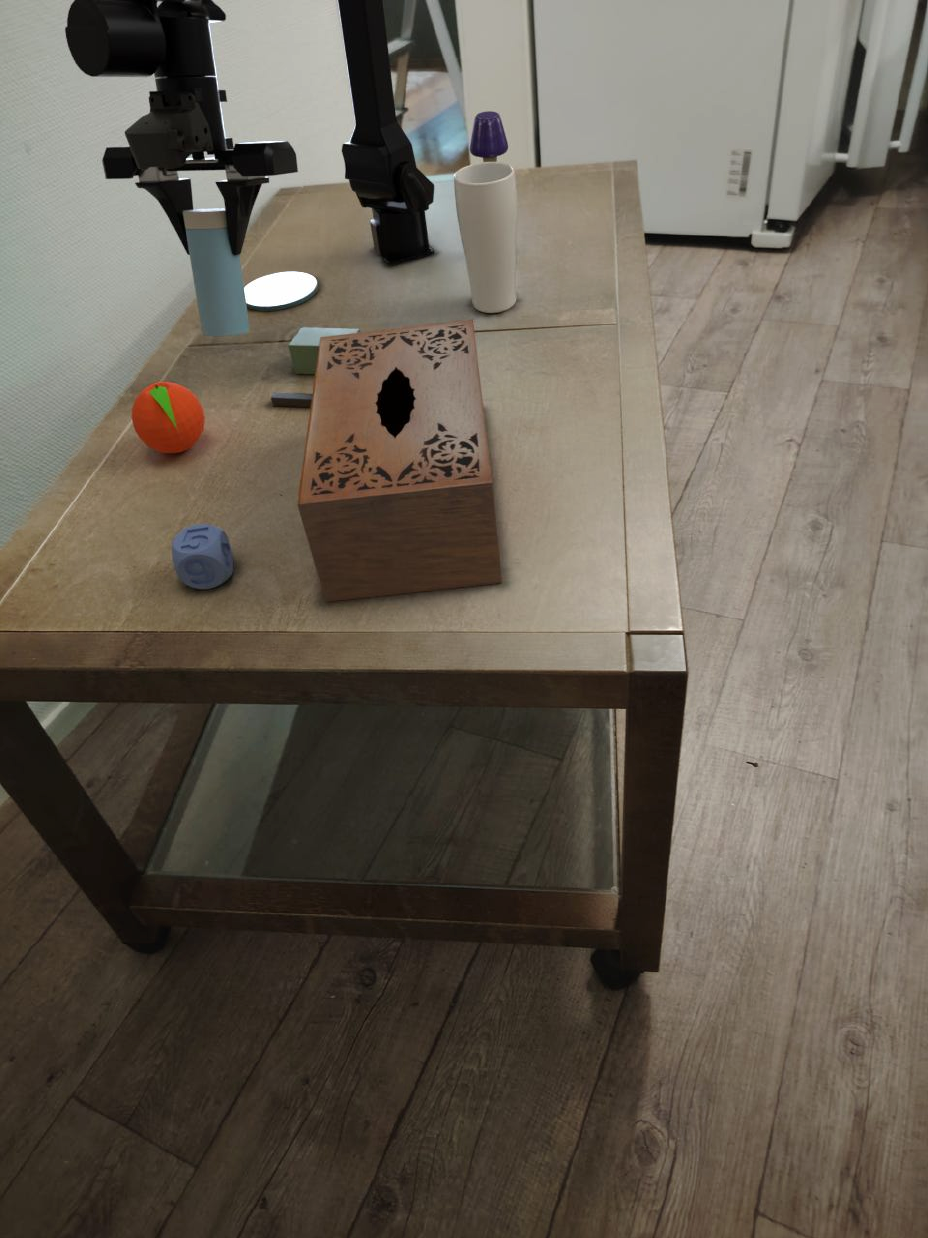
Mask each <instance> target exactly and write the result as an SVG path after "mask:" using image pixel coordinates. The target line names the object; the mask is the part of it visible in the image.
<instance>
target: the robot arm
mask: <svg viewBox="0 0 928 1238" xmlns="http://www.w3.org/2000/svg"><path fill="white" fill-rule="evenodd" d="M158 2H160V3H159V4H158ZM337 6H338V11H339V20H340V27H341V31H342V32H341V33H342V39H343V47H344V53H345V55H344V56H345V61H346V67H347V75H348V80H349V88H350V95H351V96H350V97H351V101H352V103H351V104H352V109H353V116H354V128H353V130H352V133H351V135H350V139H349V141H348V142H344V143H343V144H342V145H341V154H342V157H343V162H344V170H345V171H344V172H345V173H344V179H345V180H348V183H349V186H350V189H351V191H352V192H354V193H355V195H356V197H357V200H358V202H359V204H360V206H361V208H366V209H367V208H370V209H371V212H372V218H373V219H370V221H369V224H370V231H371V236H372V241H373V242H372V243H373V248H374V251H375V253H376V254H377V255H378V256H379V257H380V258H381V259H383V260H384V261H385V262H386V263H387V265H388V266H395V265H398V264H402V263H406V262H410V261H412V260H416V259H419V258H425V257H427V256H431V255H434V254H435V249H434V248H433V247H432V246H431V245H430V241H429V233H428V228H427V227H428V226H427V225H428V224H427V218H426V217H427V216H426V212H427V211H428V210H429V209H430V205H432V204H433V203H434V200H435V184H434V183H433V182H432V181H431V180H430V179H429V178H428V177H427V176H426V174H424V173H423V172H422V171H421V170H420V169H419V168H418V166H417V163H416V158H415V152H414V149H413V144H412V142H411V140H410V139H409V137H408V135H407V134H406V133H405V131H404V129H403V128H402V126H401V125H400V122H398V119H397V114H396V105H395V96H394V87H393V79H392V71H391V69H392V68H391V63H390V54H389V53H390V51H389V45H388V36H387V27H386V26H387V25H386V19H385V18H386V17H385V9H384V0H337ZM66 18H67V19H66V26H65V27H64V32H65V39H66V43H67V47H68V50H69V52H70V55H71V57H72V59H73V62H74V63H75V64H76V66H77V67H78V68H79V70H80V71H81V72H83V73H84V75H87V76H89V77H92V78H93V77H94V78H95V77H96V78H149V77H152V76H154V82H155V87H156V88H155V89H156V90H152V91H148V93H149V96H148V103H149V113H147V114H145V115H143V116H141V117H139V118H138V119H137V120H136V121H135V122H134V123H132V124H131V125H130V126H129V127H128V128H127V129H125V131H124V135H125V138H126V142H127V144H128V145H123V146H110V147H108V146H107V147H106V148H105V150H104V153H103V156H102V160H101V163H102V167H103V172H104V176H105V177H104V178H105V179H106V180H126V179H127V180H128V179H133V178H134V177H137V178H138V182H135V183H134V184H135V186H136V187H137V189H144V190H145V191H146V192H148V193H149V194H150V195H151V196H152V197H153V198H155V199H156V201H157V202H158V203H159V205H160V206H161V208H162V210H163V211H164V213H165V215H166V216H167V218H168V220H169V222H170V224H171V226H172V228H173V229H174V231H175V233H176V236H177V237H178V239H179V242H180V243H181V245H182V247H183V249H184V251H185V252H186V254H187V256H190V254H189V248H188V242H187V236H186V228H185V223H184V217H183V211H186V210H194V200H193V199H194V198H193V188H192V180H191V179H192V178H189V177H187V178H186V177H185V178H180V176H179V172H197V171H199V172H200V171H201V172H202V171H225V176H226V179H223V180H217V181H215V185H216V187H217V189H218V190H219V193H220V195H221V197H222V198H223V204H224V208H225V211H226V219H227V227H228V235H229V242H230V246H231V250H232V254H233V255H241V254H242V250H243V247H244V242H245V239H246V235H247V231H248V228H249V225H250V224H249V223H250V220H251V217H252V212H253V210H254V207H255V204H256V201H257V199H258V196H259V193H260V191H261V188H262V185H264V184H269V183H270V177H273V176H282V175H287V174H295V173H298V172H299V168H298V160H297V153H296V151H295V149H294V146H292V145H291V143H290V142H289V141H288V140H280V141H279V140H278V141H277V140H275V141H254V142H252V141H251V142H240V143H239V142H238V143H234V140H233V139H234V138H233V137H226V131H225V123H224V117H223V110H222V103H228V99H227V98H228V97H227V90H226V89H219V82H218V77H217V68H216V62H215V55H214V47H213V42H212V41H213V40H212V34H211V27H210V24H211V23H212V24H213V23H220V22H225V21H226V20H227V14H226V12H225V11H224V10H223V8H221V7H220V6H219V5H218V4H216V3H215V1H213V0H73V2H72V3H71V4H70V6H69V9H68V12H67V17H66ZM205 153H206V155H208V156H211V155H214V157H207V158H206V155H205ZM190 156H191V158H189V157H190Z"/></svg>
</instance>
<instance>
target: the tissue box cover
mask: <svg viewBox="0 0 928 1238" xmlns="http://www.w3.org/2000/svg"><path fill="white" fill-rule="evenodd" d="M474 325H475V324H474V319H473V318H469V319H461V320H452V321H444V322H443V321H442V322H436V323H428V324H419V325H411V326H403V327H402V326H401V327H394V328H387V329H386V328H385V329H377V330H369V331H360V332H359V333H351V334H342V335H334V336H326V337H320V344H319V351H318V358H317V365H316V373H315V374H314V380H313V388H312V393H311V394H312V401H311V407H310V409H309V417H308V423H307V432H306V439H305V446H304V447H305V448H304V453H303V459H302V461H303V462H302V465H301V466H302V467H301V472H300V473H301V474H300V482H299V488H298V495H297V496H298V497H297V503H296V506H297V509H298V512H299V515H300V519H301V523H302V525H303V529H304V532H305V536H306V539H307V543H308V546H309V550H310V553H311V556H312V560H313V564H314V566H315V570H316V574H317V577H318V580H319V584H320V587H321V591H322V594H323V597H324V601H325V603H327V602H338V601H346V600H347V601H348V600H355V599H356V600H357V599H365V598H374V597H383V596H392V595H402V594H403V595H405V594H412V593H421V592H431V591H441V590H450V589H457V588H468V587H476V586H486V585H495V584H503V577H502V568H501V558H500V557H501V555H500V547H499V536H498V527H497V517H496V505H495V496H494V486H493V485H494V484H493V476H492V468H491V459H490V453H489V451H490V450H489V444H488V442H489V441H488V434H487V426H486V418H485V417H486V416H485V410H484V408H485V407H484V401H483V391H482V384H481V376H480V375H481V374H480V368H479V367H480V366H479V357H478V350H477V342H476V334H475V326H474Z"/></svg>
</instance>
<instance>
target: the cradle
mask: <svg viewBox="0 0 928 1238" xmlns="http://www.w3.org/2000/svg"><path fill="white" fill-rule="evenodd" d="M359 332H361V329H360V328H347V327H346V328H345V327H344V328H341V327H300V329H298V332H296V334H295V335H294V337H293V338H292V340H291V341H290V342H289V343H288V346H287V347H288V351H289V354H290V359H291V361H292V365H293V369H294V373H295V374H297V375H315V373H316V365H317V358H318V351H319V344H320V337H326V336H334V335H342V334H351V333H359ZM312 394H313V393H305V392H282V391H281V392H280V391H279V392H278V391H275V392H274V393H273V394H272V395H271V397H270V400H271V403H272V406H273V407H291V408H293V407H294V408H311V401H312Z"/></svg>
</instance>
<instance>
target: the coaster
mask: <svg viewBox="0 0 928 1238" xmlns="http://www.w3.org/2000/svg"><path fill="white" fill-rule="evenodd" d="M318 289H319V284H318V280H317V279H316V277H315V276H313V274H310V273H307V272H302V271H281V272H275V273H271V274H267V275H263V276H261V277H257V278H256V279H255V280H253V281H251V282H249V283H248V284H246V285H244V291H245V299H246V306H247V309H251V310H254V311H261V312H273V311H281V310H285V309H290V308H293V307H296V306H298V305H301V304H303V303H305V302H307V301H309V300H310V299H311V298H312V297H314V296H315V295H316V293H317V292H318Z"/></svg>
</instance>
